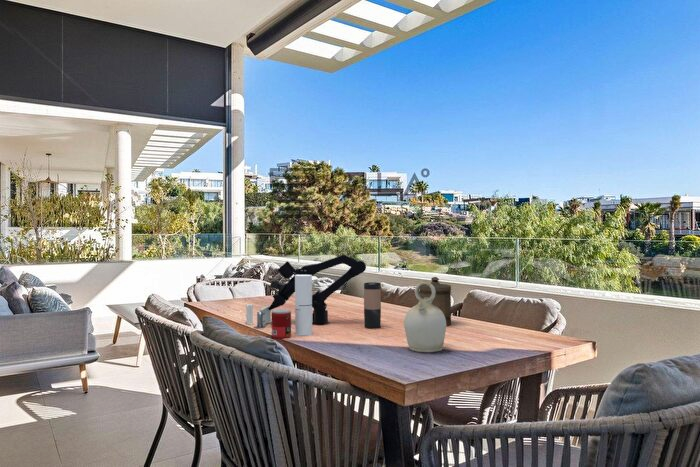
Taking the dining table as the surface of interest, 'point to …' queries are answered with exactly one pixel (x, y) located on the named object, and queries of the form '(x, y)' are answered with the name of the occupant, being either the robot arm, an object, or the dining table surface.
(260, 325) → the hinge post
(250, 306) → the latch post
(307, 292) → the cylindrical container
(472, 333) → the dining table surface
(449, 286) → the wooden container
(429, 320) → the jug
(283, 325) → the canned food
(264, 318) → the gate
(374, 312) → the travel mug
